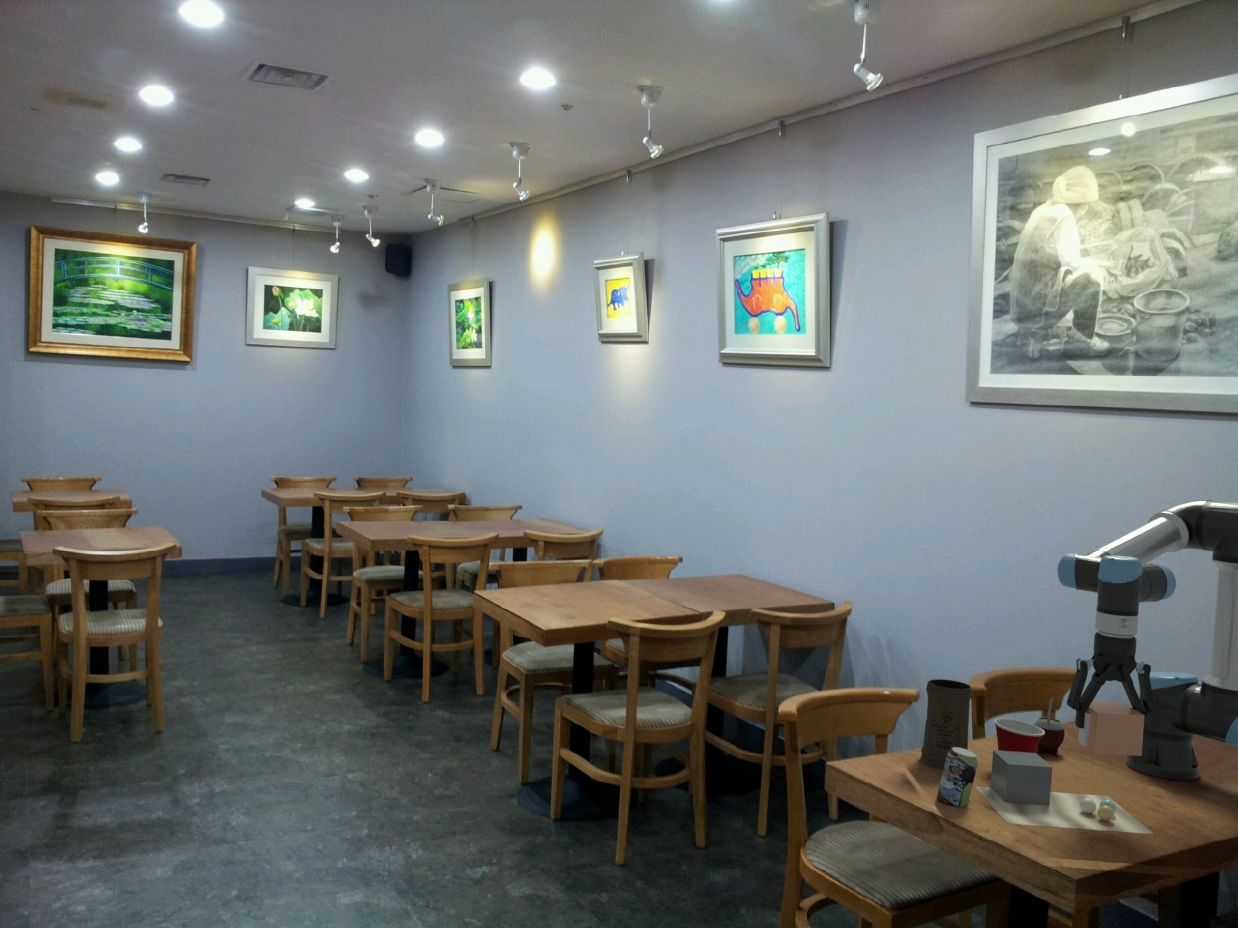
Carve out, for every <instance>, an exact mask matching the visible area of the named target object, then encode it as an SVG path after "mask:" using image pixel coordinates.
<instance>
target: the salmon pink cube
mask: <svg viewBox="0 0 1238 928" xmlns="http://www.w3.org/2000/svg"><path fill="white" fill-rule="evenodd" d="M1086 712H1088V713H1089V714H1090V723H1089V738H1088V746H1085V748H1087V749H1089V750H1090V751H1091V752H1093V754H1104V755H1119V756H1121V755H1122V756H1127V755H1136V756H1142V743H1143V729H1144V715H1143V714H1141V713H1140V712H1138V711H1136V710H1135V709H1133V708H1132V706H1130V705H1128V704H1127V703H1124V702H1122V701H1104V700H1103V701H1101V700H1093V701H1092V703H1091V704H1090V706H1089V708H1088V709H1087V711H1086ZM1074 738H1075V740H1077V741H1079V728H1078V727H1077V726H1076V725H1075V737H1074Z"/></svg>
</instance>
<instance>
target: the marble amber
mask: <svg viewBox="0 0 1238 928" xmlns="http://www.w3.org/2000/svg"><path fill="white" fill-rule="evenodd" d="M1098 816H1099V818H1100V819H1102V820H1103V821H1111V820H1112V819H1113V818H1114V811H1113V809H1112V808H1111V807H1109V806H1106V805H1104V806H1101V807H1099V809H1098Z"/></svg>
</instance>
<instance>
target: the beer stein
mask: <svg viewBox="0 0 1238 928" xmlns="http://www.w3.org/2000/svg"><path fill="white" fill-rule="evenodd" d="M925 691H926V695H927V696H926V697H927V707H926V719H925V724H924V734H923V735H924V737H923V742H922V747H921V750H920V752H921V755H920V758H919V761H920V762H921V763H922V765H925V766H927V767H929V768H931V769H932V768H933V769H935V770H936V769H937V770H942V771H943V770H944V766H945V762H946V758H947V754H948V752H949V751H950V750H952V748H953V747H959V748H963V749H967V750H969V749H968V748H969V745H968V744H969V721H970V707H971V706H970V704H971V699H972V698H973V692H972V691H973V689H972V686H971V685H970V684H967V683H966V682H963V681H959V680H952V679H944V678H943V679H941V678H940V679H938V678H937V679H934V678H933V679H930V680H928V681H927V684H926V687H925Z"/></svg>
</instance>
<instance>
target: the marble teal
mask: <svg viewBox="0 0 1238 928" xmlns="http://www.w3.org/2000/svg"><path fill="white" fill-rule="evenodd" d="M1113 801H1114V800H1113ZM1113 801H1111V800H1108V799H1106V800H1103V801H1102V802H1101V803H1100V807H1101V806H1104V805H1106V806H1109V807H1111V808H1112V809H1113V811H1114V813H1115V811H1116V805H1115V803H1116V802H1115V801H1114V802H1115V803H1114V802H1113Z"/></svg>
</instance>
